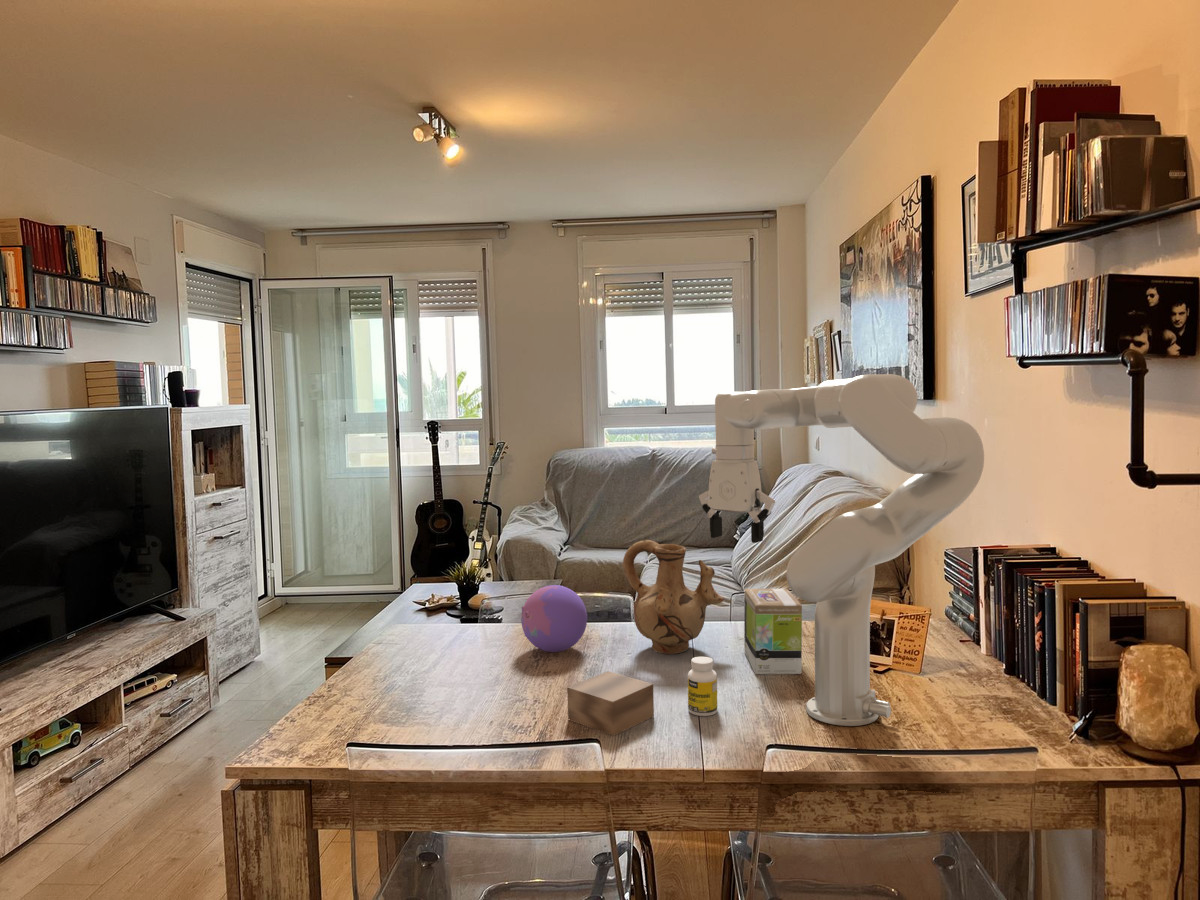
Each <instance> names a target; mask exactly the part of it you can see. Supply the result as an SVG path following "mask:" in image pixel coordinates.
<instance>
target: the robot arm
mask: <svg viewBox="0 0 1200 900" xmlns="http://www.w3.org/2000/svg"><path fill="white" fill-rule="evenodd" d="M917 404H918V393H917V390H916V387H915V386H914V384H913V383H912V382H911V381H910V380H909V379H908V378H906V377H904V376H902V375H898V374H895V373H894V374H893V373H892V374H891V373H883V374H879V373H878V374H876V373H872V374H871V373H870V374H861V375H857V376H855V377H849V378H839V379H828V380H824V381H822V382H821V383H820V384H819V385H816V386H810V387H809V386H807V387H796V388H784V389H783V388H779V389H775V388H773V389H757V390H749V391H721V392H719V393H717V394H716V396H715V399H714V414H715V416H714V417H715V418H714V419H715V423H714V424H715V447H712V448H711V453H712V455H715V458H716V459H715V460H712V461H711V466H710V473H709V480H708V490H706V491H704V492H702V493H701V494H699V495H698V499H699V501H700V503H701V505H702V506H701V507H702V509H703V510H704V512H705V513H706V517H707V518H708V519H709V532H710V538H711V539H714V538H715V539H716V538H720V537H722V536H723V518H722V516H720V515H721V513H722V512H729V513H731V512H732V513H743V514H744V513H748V515H749V516H750V518H751V520H752V521H753V522H750V523H751V524H750V527H751V528H750V534H751V535H750V536H751V537H750V539H751V540H750V541H751V542H752V543H753V544H757V543H760V542H763V541H764V537H765V529H764V528H765V527H764V524H765V523H764V522H765V521H767V519H768V517H769V516H770V515H771V514H772V511H773V509H774V508H775V507H774V506H775V504H776V500H775V499H773V498H772V497H770V496H769V495H768V494H766V493H764V492H763V491H762V482H761V474H760V470H759V464H758V462H757V460H755V431H757V430H759V431H760V430H770V429H771V430H772V429H783V428H784V429H785V428H795V427H796V428H798V427H812V426H823V427H825V428H828V429H836V428H851V427H852V429H854V430H855V431H856V433H858V434H859V435H860V436H861V437H862V438H863V439H864V440H865V441H866V442H867V443H868V444H870V445H871V446H872V447H873V448H874V449H875V450H876V451H877V452H878V453H880V454H881V456H882V457H884V458H885V459H886V460H887V461H888V462H890V464H892V465H893V466H894V467H896V468H897V469H899V470H901V471H902V472H904V473H908V474H912V476H911V477H910V478H908V479H906V480H905V481H903V483H901V484H900V485H898V486H897V488H896V489H895V490H893V491H892V492H891V493H890V494H888V495H887V496H886V497H885V498H883V499H881V501H879V502H878V503H876V504H873V505H870V506H867V507H864V508H858V509H854V510H853V509H852V510H850V511H847V512H844V513H842V514H840V515H838V516H836V517H835V518H833V519H832V520H831V521H829V522H828V523H827V524H826V525H824V526H823V527H822V528H821V529H819V531H817V532H816V533H815V534H814V535H813V536H812V537H811V538H809V540H807V541H806V542H805V543H804V544H803V545H802V546H800V547H799V548H798V549H797V550H796V551H795V552H794V553H793V554H792V556H791V557H790V559H789V561H788V563H787V567H786V573H785V574H786V581H787V584H788V586H789V589H790V591H791V593H793V595H794V596H795V597H798V598H799V599H801V600H803V601H806V602H809V603H815V604H816V605H815V610H814V611H815V612H814V697H811V698H810V699H808V701H806V704H805V706H806V708H805V710H806V713H807V714H808V715H809V716H810V717H811V718H813V719H815V720H817V721H819V722H822V723H826V724H829V725H833V726H843V727H856V726H857V727H858V726H859V727H860V726H864V725H868V724H869V725H870V724H872V723H873V722H875V721H877V720H878V718H879V716H880V717H884V718H887V719H888V718H890V717H891V714H892V707H891V703H890V702H889V701H885V700H879V699H878V698H877V697H876V690H875V689H871V686H870V684H871V683H870V682H871V678H870V677H871V673H870V672H871V670H870V669H871V668H870V667H871V665H870V664H871V661H870V659H871V658H870V656H871V655H870V654H871V651H870V650H871V649H870V648H871V645H870V644H871V643H870V642H871V640H870V639H871V636H870V634H871V633H870V632H871V603H872V596H873V589H874V588H873V587H874V584H875V577H876V576H875V575H876V567H875V566H877V565H880V564H883V563H886V562H889V561H892V560H894V559H896V558H898V557H899V556H900V555H902V554H903V553H904V552H905V551H906V550H907V549H908V548H910V547H911V546H912V545H913V544H914V543H916V542H917V541H919V540H920V539H921V538H922V537H924V536H925V535H926V534H927V533H929V532H930V531H931V530H933V528H935V527H936V526H937V525H938V524H939V523H941V522H942V521H944V520H945V518H947V517H948V516H950V515H951V514H952V513H953V512H954V511H955V510H957V509H958V508H959V507H960V506H962V504H964V502H965V501H966V500H967V499H968V498H969V497H970V496H971V494H972V493H973V492H974V490H975V489H976V488H977V485H978V484H979V482H980V479H981V477H982V473H983V470H984V465H985V450H984V444H983V441H982V439H981V436H980V434H979V432H978V431H977V430H976V428H975V427H974V426H972V424H970V423H969V422H966V421H965V420H962V419H960V418H954V417H947V416H946V417H931V418H921V417H919V416H918V415H917V414H916V413H914V412H915V410H916V408H917ZM762 503H763V504H764V506H763V509H761V508H762Z"/></svg>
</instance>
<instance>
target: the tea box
mask: <svg viewBox="0 0 1200 900" xmlns="http://www.w3.org/2000/svg"><path fill="white" fill-rule="evenodd" d="M792 593H793V592H792V591H791V590H789V589H788V588H745V589H744V602H743V603H744V604H743V605H744V609H743V610H744V618H743V619H744V620H743V621H744V623H743V625H744V630H743V631H744V632H743V633H744V640H743V641H744V642H743V643H744V648H743V650H744V653H745V656H746V657H747V661H748V662H749V664H750V666H751V668H752V671H753V672H754V674H755V675H801V674H802V671H803V670H802V669H803V668H802V661H803V660H802V659H803V658H802V657H803V655H802V651H803V648H802V647H803V645H802V643H803V642H802V641H803V638H802V637H803V605H802V604H801V602H800V601H799V600H798V599H797V598H796V596H795V595H794V594H792Z"/></svg>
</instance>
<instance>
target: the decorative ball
mask: <svg viewBox="0 0 1200 900" xmlns="http://www.w3.org/2000/svg"><path fill="white" fill-rule="evenodd" d="M520 617H521V619H520V621H521V627H522V631H523V635H524V637H525V638H526V639H527V640H528V641H529V642H530V643H531V644H532V645H533V646H534V647H535V648H537V649H538V650H540V651H541V650H542V651H543V652H547V653H560V652H564V651H566V650H569V649H570V648H573V646H575V645H576V644H577V643H578V642H579V641H580V640H581V639H582V637H583V635H584V633H585V631H586V628H587V625H588V624H587V623H588V612H587V609H586V605H585V603H584V601H583V600H582V598H581V596H579V594H577V593H576V592H575V591H573V590H572V589H570V588H568V587H566V586H562V585H558V584H552V585H551V584H550V585H546V586H543V587H540V588H538V589H537V590H535V591H534V592H533V593H531V595H529V596H528V598H527V599H526V601H525V603H524V605H523V606H521V616H520Z"/></svg>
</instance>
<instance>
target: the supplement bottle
mask: <svg viewBox="0 0 1200 900" xmlns="http://www.w3.org/2000/svg"><path fill="white" fill-rule="evenodd" d="M690 660H691V661H690V662H691V664H690V666H691V669H690V670H689V671H688V674H687V708H688V712H689V713H690V714H692V715H694V716H698V717H709V716H714V715H715V714H717V712H718V674H717V672H716V671H715V670H714V669H713V668H714V660H713V659H712V658H711V657H708V656H695V657H693V658H692V659H690Z"/></svg>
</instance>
